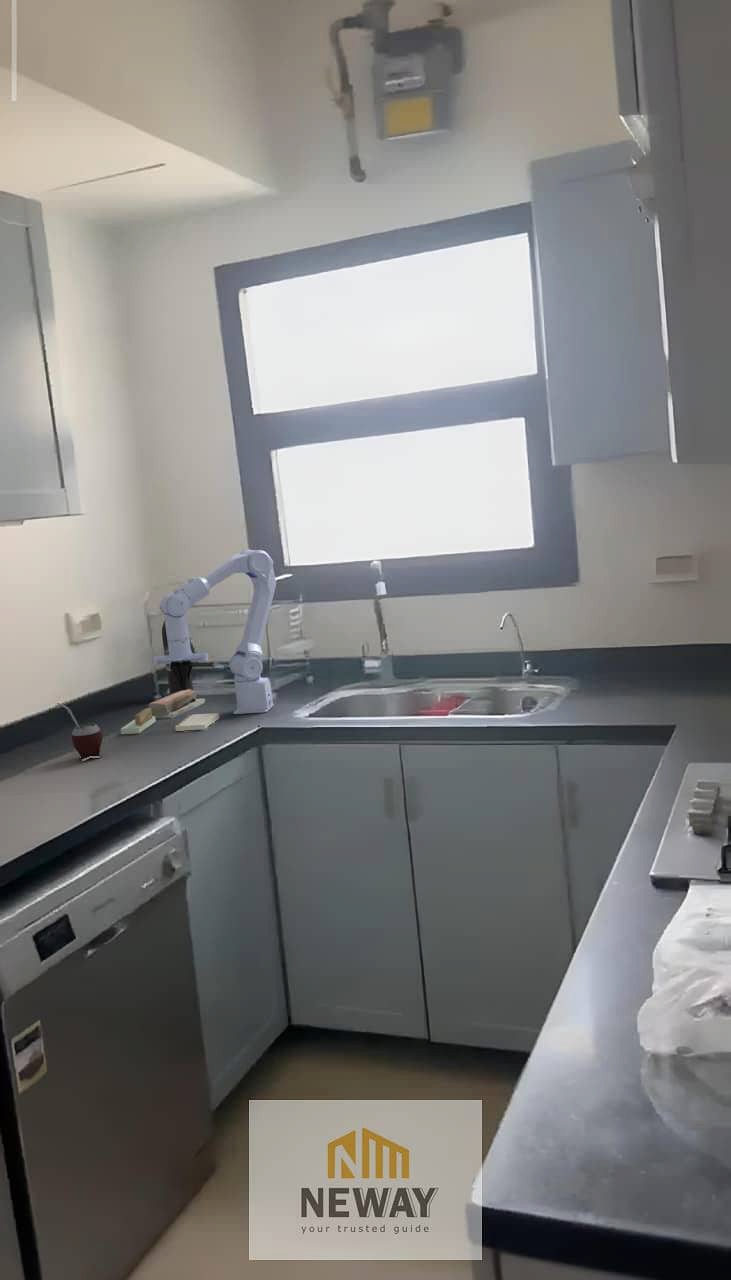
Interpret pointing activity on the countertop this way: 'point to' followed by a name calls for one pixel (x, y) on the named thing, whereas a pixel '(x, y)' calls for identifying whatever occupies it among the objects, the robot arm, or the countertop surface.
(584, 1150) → the countertop surface
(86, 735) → the mate gourd
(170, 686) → the wine bottle
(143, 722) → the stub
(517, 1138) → the countertop surface
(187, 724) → the block
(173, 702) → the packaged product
